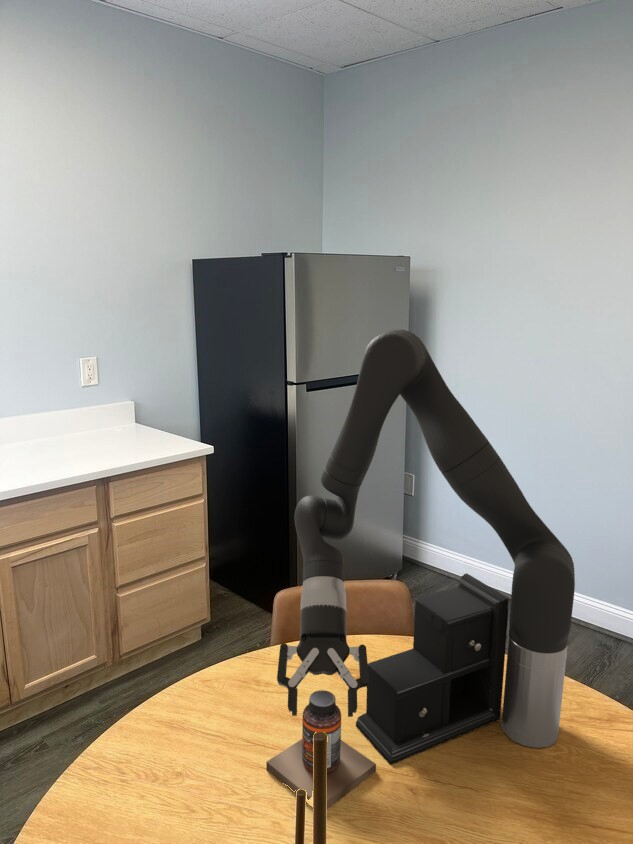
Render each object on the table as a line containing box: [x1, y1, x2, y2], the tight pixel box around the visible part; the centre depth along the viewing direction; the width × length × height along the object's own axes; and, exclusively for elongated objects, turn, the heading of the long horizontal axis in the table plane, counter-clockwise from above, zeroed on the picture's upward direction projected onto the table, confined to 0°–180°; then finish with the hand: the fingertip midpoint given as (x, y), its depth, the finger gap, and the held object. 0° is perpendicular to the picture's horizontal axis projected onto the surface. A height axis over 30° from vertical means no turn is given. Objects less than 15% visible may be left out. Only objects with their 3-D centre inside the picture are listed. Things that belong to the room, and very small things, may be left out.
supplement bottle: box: [301, 689, 342, 773], centre depth 102 cm, size 6×6×11 cm
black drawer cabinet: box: [355, 573, 509, 765], centre depth 112 cm, size 23×11×24 cm, turn 118°
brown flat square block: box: [265, 738, 377, 810], centre depth 103 cm, size 12×12×2 cm
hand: (322, 715), depth 101 cm, fingers open, 8 cm apart
